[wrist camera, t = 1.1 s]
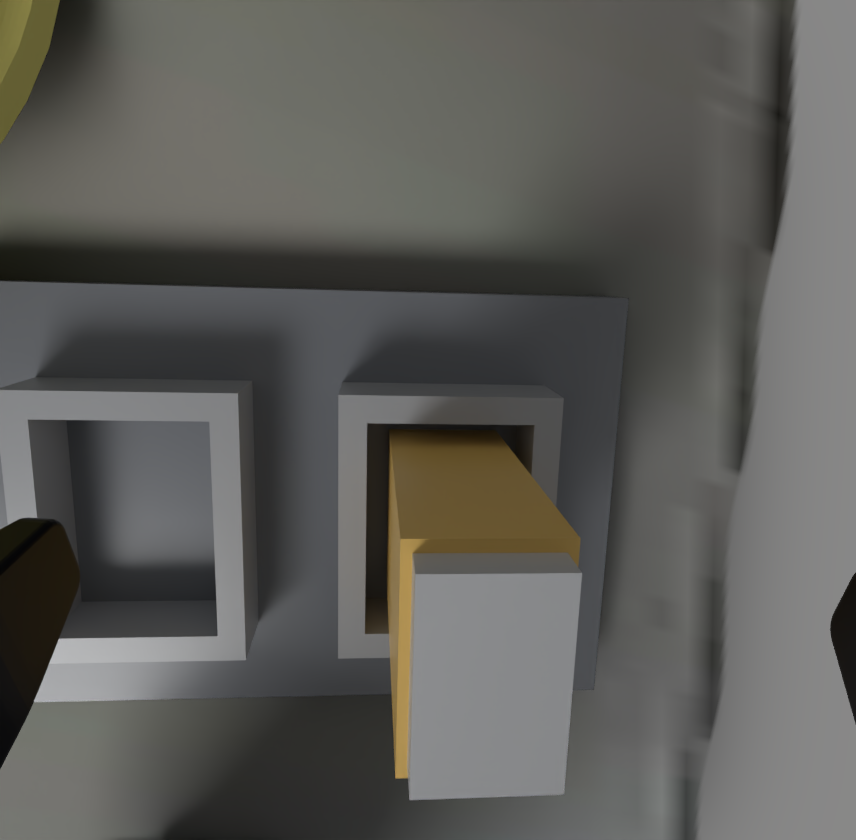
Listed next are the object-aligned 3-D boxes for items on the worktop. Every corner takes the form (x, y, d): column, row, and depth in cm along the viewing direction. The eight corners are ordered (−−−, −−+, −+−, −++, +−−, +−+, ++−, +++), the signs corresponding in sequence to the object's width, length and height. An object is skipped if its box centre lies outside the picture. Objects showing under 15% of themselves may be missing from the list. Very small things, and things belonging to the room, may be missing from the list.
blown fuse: (495, 430, 19) (595, 557, 11) (488, 578, 20) (574, 807, 11) (389, 428, 19) (402, 559, 10) (386, 579, 20) (396, 813, 11)
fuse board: (579, 662, 23) (616, 732, 19) (12, 673, 21) (-57, 750, 18) (609, 296, 20) (658, 301, 17) (-31, 278, 19) (-122, 280, 15)
